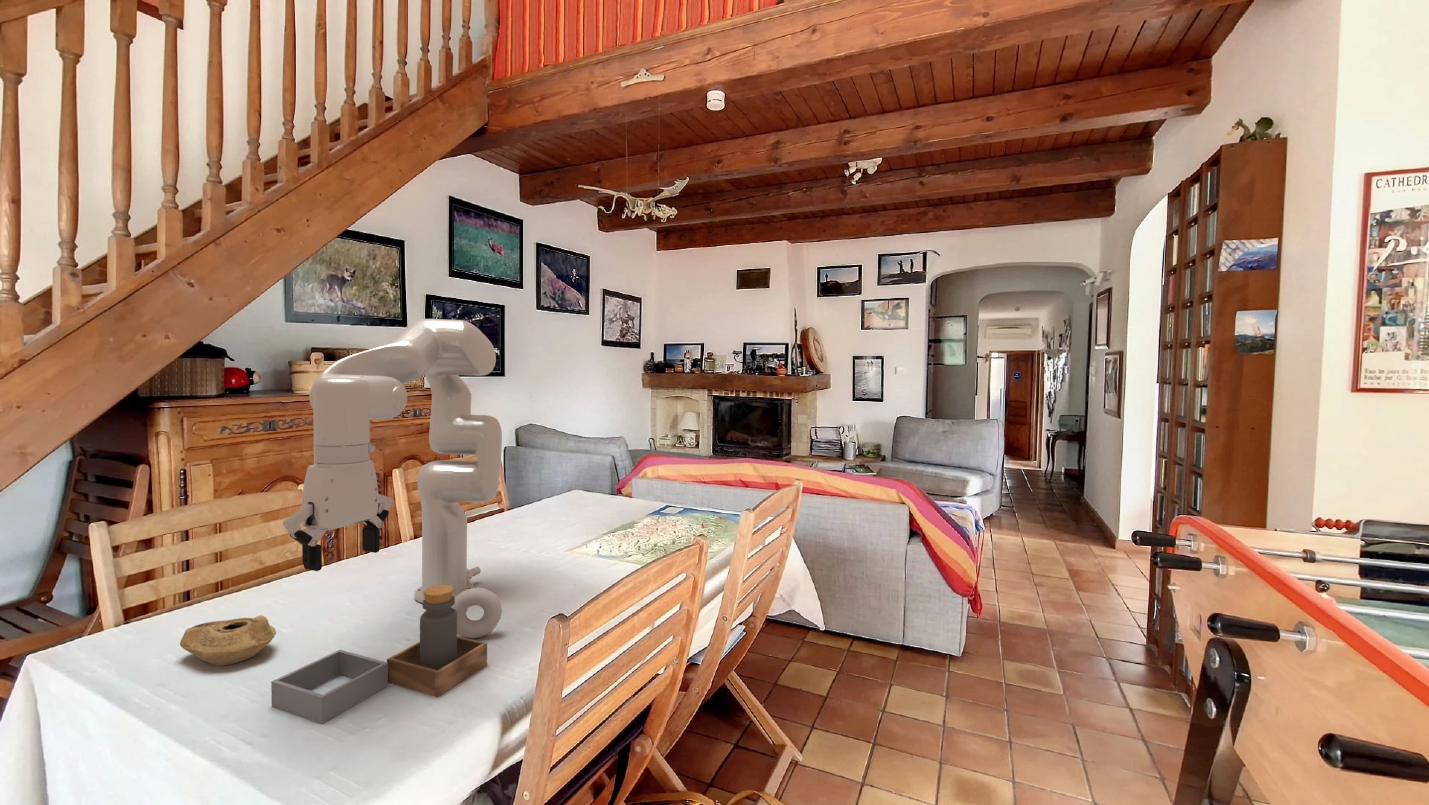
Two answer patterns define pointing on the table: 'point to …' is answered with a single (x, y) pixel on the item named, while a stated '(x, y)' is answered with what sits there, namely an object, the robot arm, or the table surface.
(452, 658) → the bottle
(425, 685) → the walnut bin
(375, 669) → the grey bin
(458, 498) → the robot arm
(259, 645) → the oil lamp
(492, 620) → the donut
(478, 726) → the table surface
